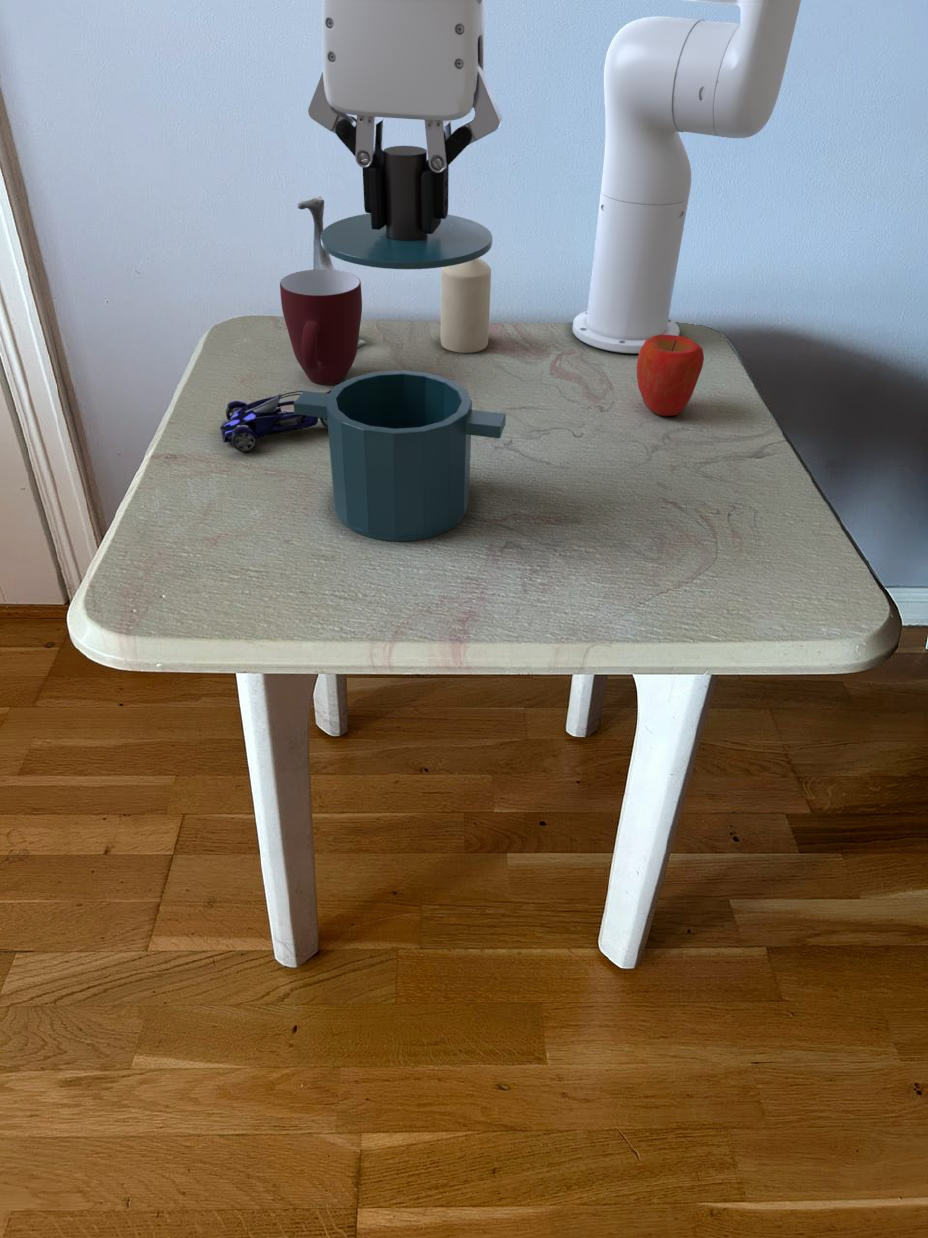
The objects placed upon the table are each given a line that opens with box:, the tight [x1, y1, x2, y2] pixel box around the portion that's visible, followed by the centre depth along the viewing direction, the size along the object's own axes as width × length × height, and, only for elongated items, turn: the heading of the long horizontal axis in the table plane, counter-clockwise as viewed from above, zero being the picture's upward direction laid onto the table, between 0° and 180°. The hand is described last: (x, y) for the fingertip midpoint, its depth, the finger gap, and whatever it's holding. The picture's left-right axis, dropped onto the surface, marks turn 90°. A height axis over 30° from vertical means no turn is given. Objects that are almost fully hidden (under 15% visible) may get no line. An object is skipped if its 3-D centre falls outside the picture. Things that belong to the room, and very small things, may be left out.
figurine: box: [296, 196, 366, 349], centre depth 98 cm, size 11×6×15 cm, turn 14°
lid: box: [321, 145, 493, 270], centre depth 63 cm, size 12×12×7 cm
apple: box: [636, 335, 705, 417], centre depth 89 cm, size 6×6×8 cm
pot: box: [293, 370, 507, 542], centre depth 73 cm, size 11×17×10 cm
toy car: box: [219, 389, 332, 453], centre depth 84 cm, size 12×6×4 cm, turn 107°
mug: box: [279, 269, 363, 385], centre depth 91 cm, size 11×8×10 cm
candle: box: [440, 257, 492, 354], centre depth 100 cm, size 6×6×10 cm
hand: (406, 223), depth 64 cm, fingers closed on lid, 3 cm apart
